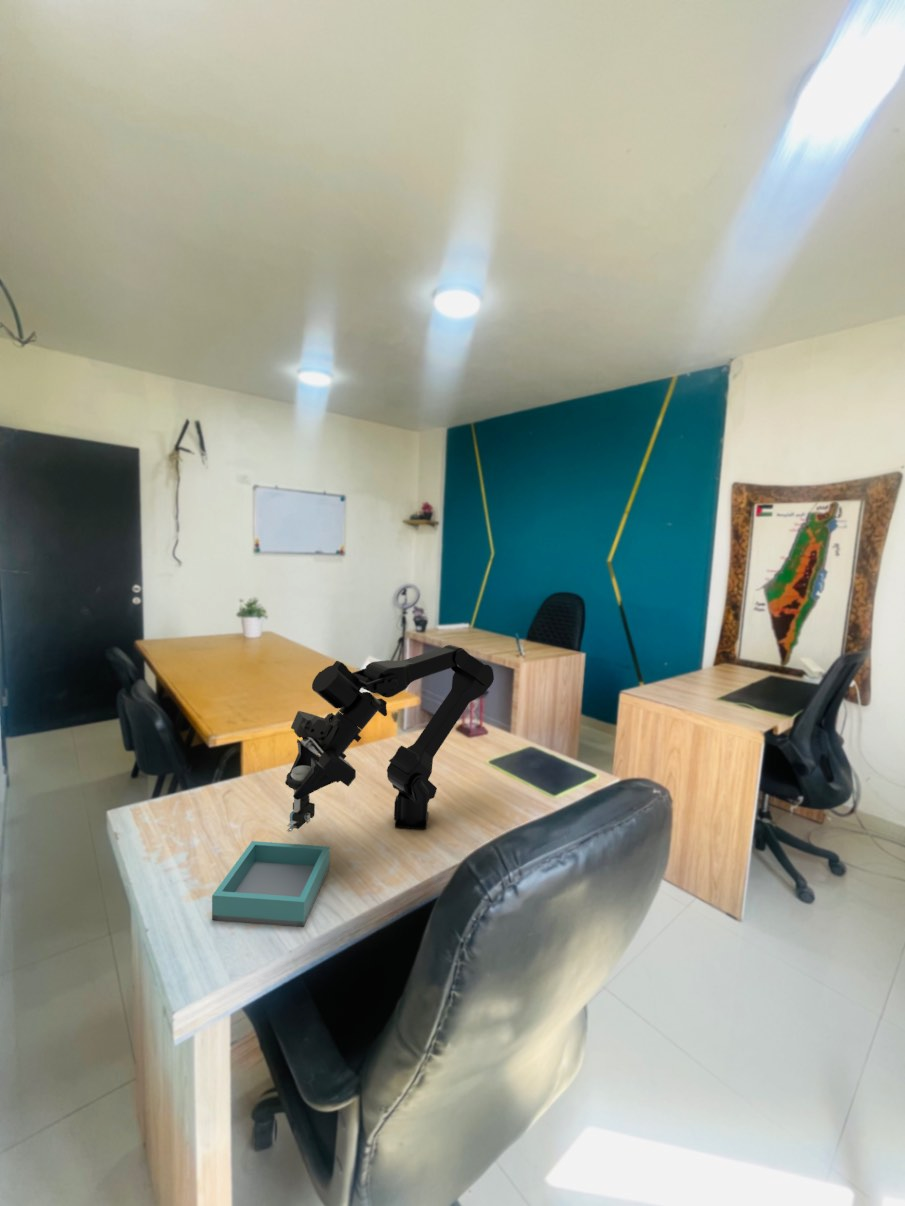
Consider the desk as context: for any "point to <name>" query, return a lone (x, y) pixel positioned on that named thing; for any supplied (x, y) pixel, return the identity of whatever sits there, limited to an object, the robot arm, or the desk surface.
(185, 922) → the desk surface
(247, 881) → the tray
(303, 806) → the push button
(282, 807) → the desk surface
